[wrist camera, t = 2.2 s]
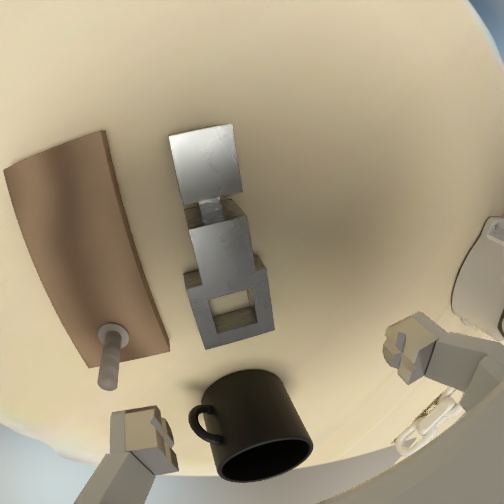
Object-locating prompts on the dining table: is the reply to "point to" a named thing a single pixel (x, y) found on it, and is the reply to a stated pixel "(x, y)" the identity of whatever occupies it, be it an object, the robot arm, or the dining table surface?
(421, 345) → the robot arm
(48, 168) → the brown board with peg
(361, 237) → the dining table surface
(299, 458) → the mug
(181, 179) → the hasp latch
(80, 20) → the dining table surface
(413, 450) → the chain
